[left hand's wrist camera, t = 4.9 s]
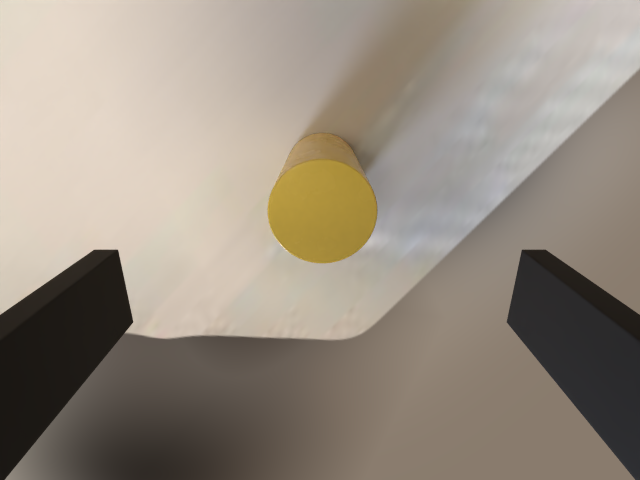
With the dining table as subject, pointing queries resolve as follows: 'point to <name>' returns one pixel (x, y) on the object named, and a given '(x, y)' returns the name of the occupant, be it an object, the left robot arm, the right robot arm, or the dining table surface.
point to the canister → (322, 201)
